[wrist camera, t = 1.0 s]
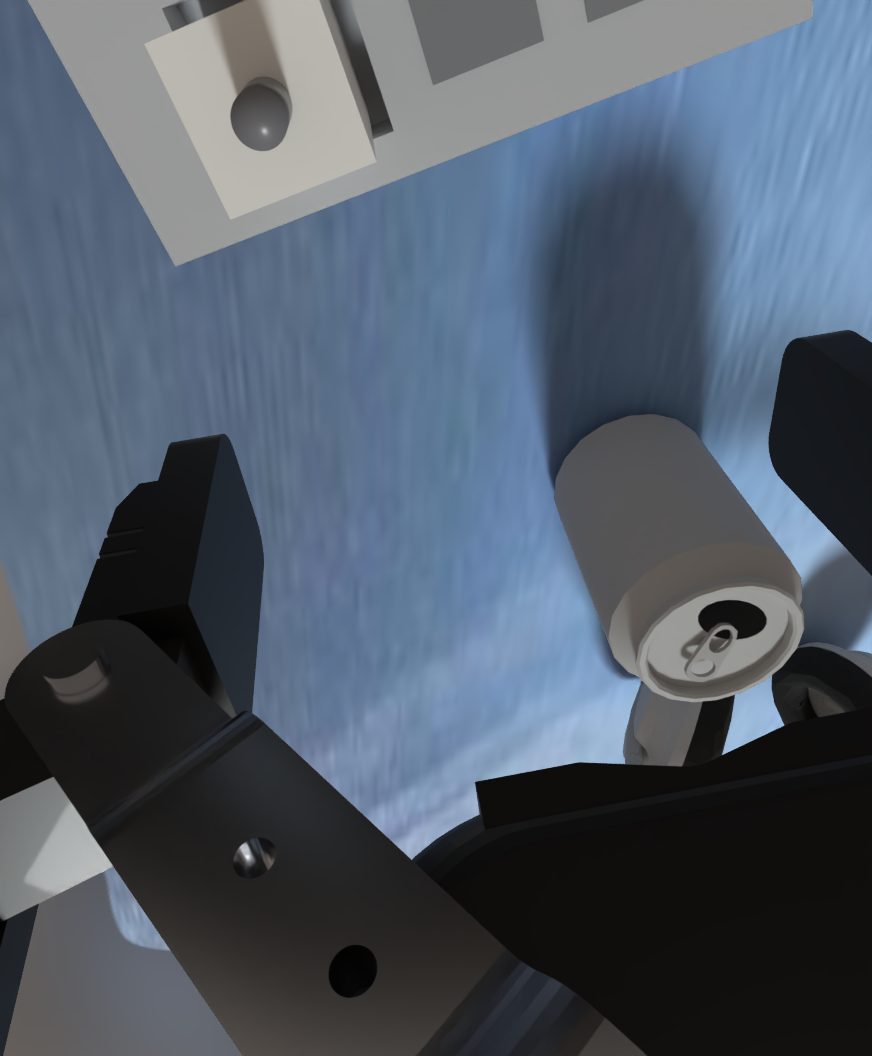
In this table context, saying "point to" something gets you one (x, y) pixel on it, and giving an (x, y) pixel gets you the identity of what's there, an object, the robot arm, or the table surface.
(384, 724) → the table surface
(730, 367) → the table surface
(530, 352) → the table surface
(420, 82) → the power strip
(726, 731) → the headphones
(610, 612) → the can
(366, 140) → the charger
